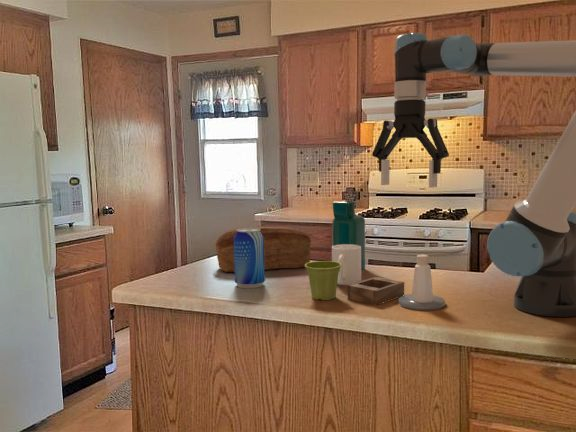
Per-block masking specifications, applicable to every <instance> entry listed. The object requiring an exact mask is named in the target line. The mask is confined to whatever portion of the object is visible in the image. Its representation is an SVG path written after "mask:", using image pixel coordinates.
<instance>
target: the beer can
mask: <svg viewBox="0 0 576 432" xmlns="http://www.w3.org/2000/svg"><path fill="white" fill-rule="evenodd" d="M236 230H237V233H236V235H235V237H234V264H235V272H234V282H235V284H236V285H237V287H238V288H241V289H250V290H251V289H257V288H261V287H262V286H263V284H264V283H265V281H266V276H265V274H266V273H265V267H264V237H263V235H262V234H261V232H260V229H258V228H252V227H243V228H238V229H236Z"/></svg>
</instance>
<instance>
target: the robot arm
mask: <svg viewBox="0 0 576 432" xmlns="http://www.w3.org/2000/svg"><path fill="white" fill-rule="evenodd" d="M393 56H394V74H395V76H394V91H393V92H394V96H393V98H394V99H395V101H394V103H393V106H394V107H393V110H394V111H393V113H394V121H392V120H384V121H383V122H382V130H381V133H380V134H379V137H378V140H377V142H376V144H375V146H374V148H373V151H372V154H371V156H372V157H374V158H377V159H378V171H379V173H380V172H381V173H380V174H381V175H380V186H388V185H390V169H391V167H390V163H391V162H390V159H389V156H390V155H391V153H392V152H393V151H394V149H395V147H397V145H398V144H399V142H400V141H401V140H402V139H414V138H415V139H416V140H418V141H419V143H420V144H421V145H422V146H423V148H424V149H425V150H426V152H427V153H428V155H430V157H431V160H429V162H428V163H429V165H428V166H429V168H428V172H429V173H428V188H438V174H440V173H441V172H442V171H441V169H442V164H441V163H442V160H443V159H445V158H448V157H449V156H450V154H449V151H448V148H447V146H446V144H445V142H444V140H443V137H442V135H441V132H440V130H439V127H438V120H437V118H428V119H426V118H425V116H426V100H424V99H425V98H426V95H427V94H426V92H427V91H426V89H427V74H431V73H441V72H448V73H449V72H450V73H455V74H463V75H464V74H465V75H469V76H472V77H478V78H480V77H487V76H518V77H520V76H522V77H523V76H524V77H526V76H527V77H530V76H531V77H576V39H575V40H549V41H548V40H545V41H544V40H543V41H542V40H541V41H521V42H520V41H515V42H511V41H509V42H486V43H485V42H483V43H482V42H480V43H478V42H475V40H474V39H473V38H472V36H471V35H469V34H459V35H458V34H453V35H450V36H446V37H440V38H435V39H430V40H428V38H427V35H426V34H425V33H423V32H422V33H421V32H410V33H409V32H408V33H404V34H400V35H398V36H397V37H396V40H395V49H394V55H393ZM425 127H426V128H427V129H428V133H430V134H429V135H430V136H431V139H432V141H431V140H430V138H429V137H428V135H427V133H426V132H425V130H424V129H425ZM393 129H395V131H394V132H393V134H392V135H391V133H392V130H393ZM390 136H391V137H390ZM575 206H576V110H575V111H574V113H573V114H572V116H571V118H570V120H569V122H568V124H567V126H566V128H565V129H564V131H563V132H562V135H561V136H560V138H559V140H558V141H557V143H556V145H555V147H554V149H553V151H552V153H551V154H550V156H549V157H548V159H547V161H546V162H545V164H544V166H543V168H542V169H541V172H540V173H539V176H538V177H537V179H536V180H535V183H534V184H533V186H532V188H531V190H530V192H529V193H528V195H527V197H526V198H525V199H524V200H520V201H517V202H515V203H514V204H513V206H512V208H511V210H510V211H509V213H508V215H507V217H506V219H505V221H503V222H500V223H498V225H496V226H495V227H494V228H492V230H490V233H489V235H488V237H487V243H486V246H487V247H486V248H487V252H488V254H489V257H490V258H489V259H490V260H491V262H492V263H493V265H494V266H495V267H496V268H497V269H498V270H500V271H501V272H502V273H504V274H506V275H509V276H511V277H521V278H520V279H519V282H518V285H517V286H516V289H515V292H514V295H513V307H514V308H516V309H517V310H519V311H522V312H525V313H528V314H533V315H538V316H544V317H556V318H569V317H570V318H571V317H576V212H575V211H573V209H574V207H575Z"/></svg>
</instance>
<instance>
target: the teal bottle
mask: <svg viewBox="0 0 576 432" xmlns="http://www.w3.org/2000/svg"><path fill="white" fill-rule="evenodd" d="M357 204H358V201H356V200H342V201H332V212H333V217H334V218H333V219H332V246H334V245H340V244H353V245H359V246H361V272H362V271H363V270H365V269H366V219H365V217H364V216H361V215H358V214H356V212H355V210H356V209H355V205H357Z"/></svg>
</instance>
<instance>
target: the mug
mask: <svg viewBox="0 0 576 432" xmlns="http://www.w3.org/2000/svg"><path fill="white" fill-rule="evenodd" d="M331 261H334V262H339V263H341V264H342V266H341V267H340V271H339V273H338V281H337V285H339V286H348V285H350V284H353V283H357V282H360V281H362V271H361V246H359V245H353V244H340V245H334V246H333V245H332V246H331Z"/></svg>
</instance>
